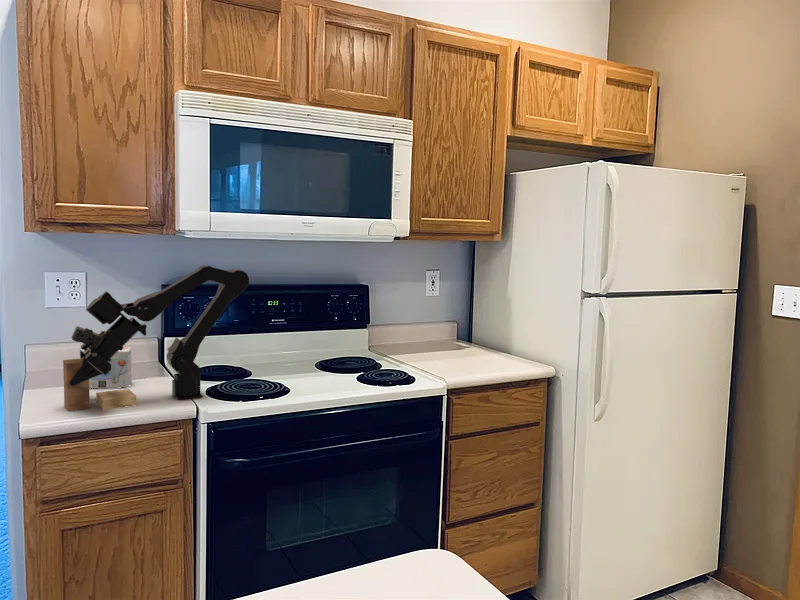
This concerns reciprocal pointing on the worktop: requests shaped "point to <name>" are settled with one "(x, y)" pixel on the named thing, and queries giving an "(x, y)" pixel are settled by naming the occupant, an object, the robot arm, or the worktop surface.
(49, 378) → the worktop surface
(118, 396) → the oak block
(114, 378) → the light bulb box
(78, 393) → the walnut block
